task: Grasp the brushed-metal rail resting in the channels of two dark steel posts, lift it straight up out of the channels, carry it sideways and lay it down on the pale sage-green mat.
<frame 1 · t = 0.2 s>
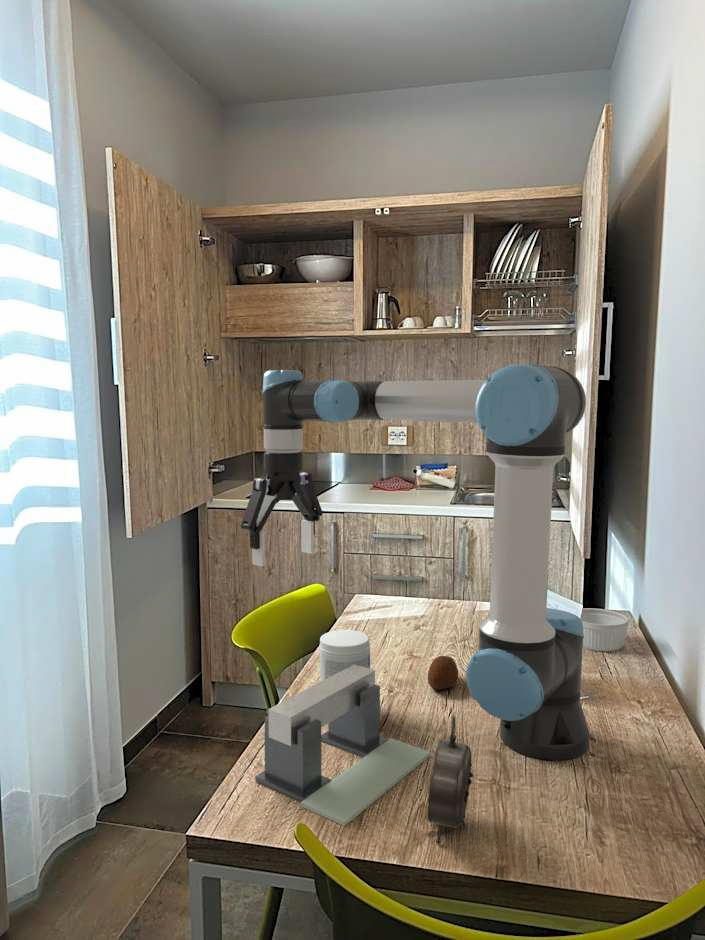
hand: (284, 558, 139), 28 cm above the table, fingers open, 13 cm apart
post left: (293, 782, 110), on the table
mat: (369, 779, 111), on the table
supplement tub: (344, 713, 134), on the table
rail: (325, 714, 115), point 8 cm above the table, touching post left, post right
post right: (353, 741, 123), on the table
ramekin: (598, 644, 171), on the table
potato: (443, 687, 146), on the table
alarm clock: (450, 827, 99), on the table
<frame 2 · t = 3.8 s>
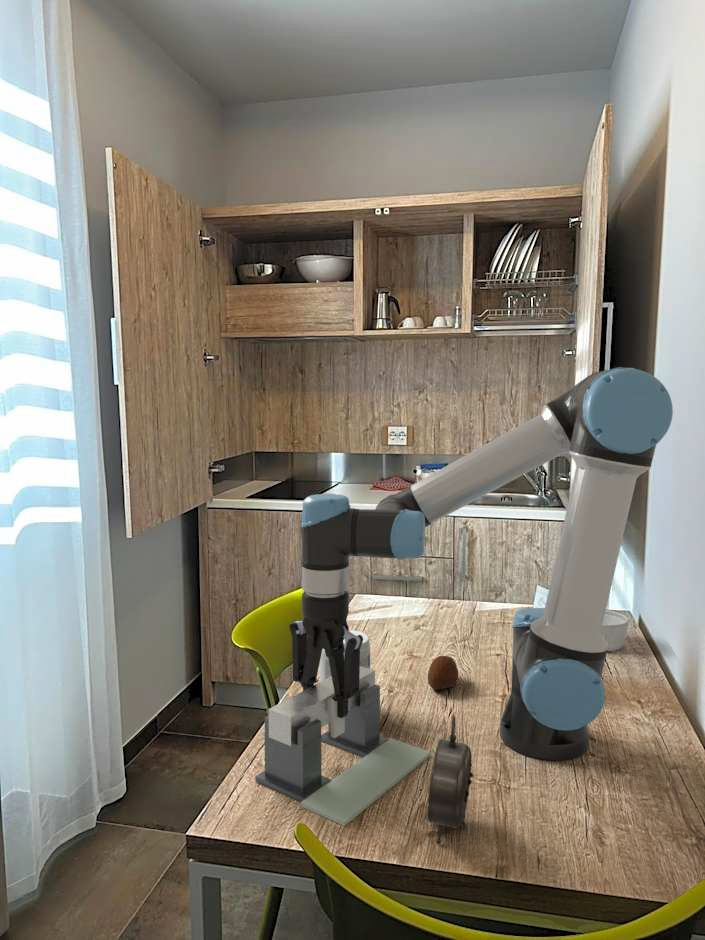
hand: (325, 729, 116), 5 cm above the table, fingers closed on rail, 4 cm apart
rail: (325, 714, 115), point 8 cm above the table, touching gripper, post left, post right
everything else where it was.
when the fingers open (1 cm above the table, at t = 10.6 s): rail drops 3 cm, resting on mat.
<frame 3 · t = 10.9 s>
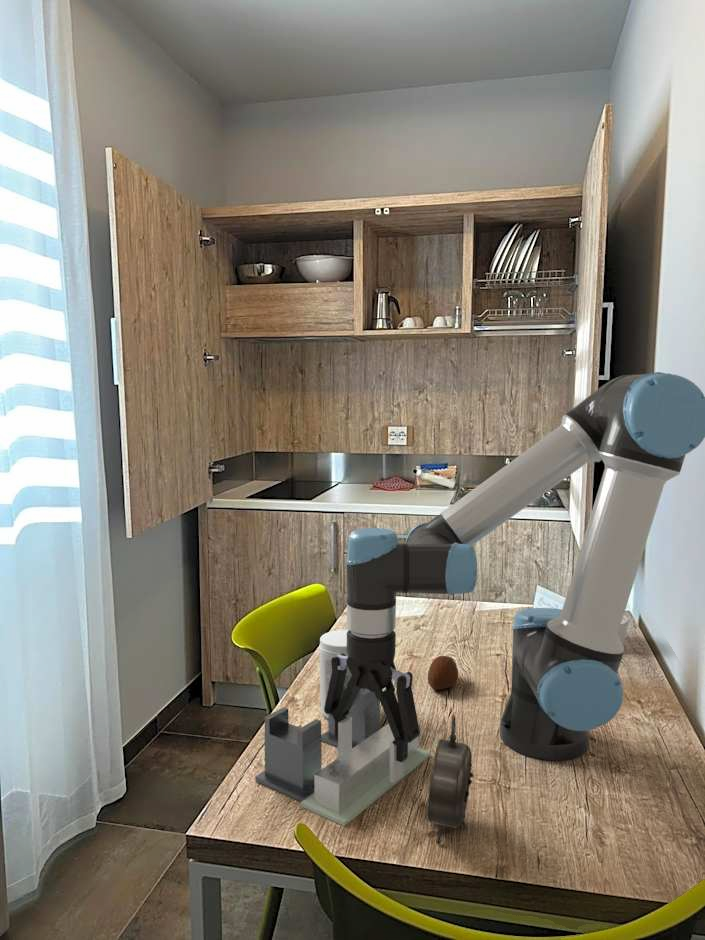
hand: (369, 768, 111), 2 cm above the table, fingers open, 9 cm apart
rail: (369, 775, 111), point 1 cm above the table, touching mat
everything else where it was.
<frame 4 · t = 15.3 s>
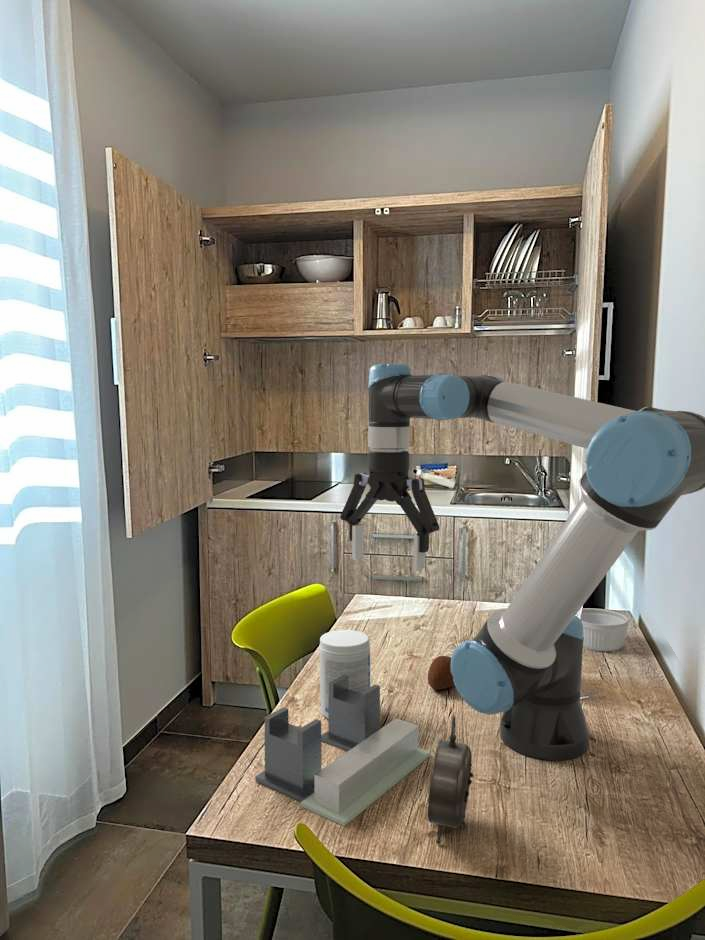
hand: (387, 563, 131), 29 cm above the table, fingers open, 13 cm apart
nothing on the table moved.
at the end: rail inside the target area (0.0 cm from its centre), point 0.6 cm above the table; rail moved 11.7 cm from its start; the gripper is holding nothing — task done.
